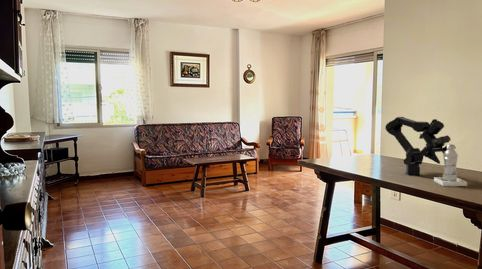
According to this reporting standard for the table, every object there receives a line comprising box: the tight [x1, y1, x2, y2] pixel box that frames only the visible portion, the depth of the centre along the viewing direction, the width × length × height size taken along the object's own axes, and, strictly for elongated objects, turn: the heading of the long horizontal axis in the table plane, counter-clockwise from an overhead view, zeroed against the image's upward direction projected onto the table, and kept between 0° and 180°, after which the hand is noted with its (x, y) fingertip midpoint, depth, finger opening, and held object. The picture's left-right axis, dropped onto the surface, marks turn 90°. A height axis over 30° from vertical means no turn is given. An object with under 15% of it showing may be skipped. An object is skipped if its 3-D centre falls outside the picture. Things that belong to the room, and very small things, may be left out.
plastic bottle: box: [442, 144, 459, 182], centre depth 182 cm, size 6×7×20 cm
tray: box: [433, 176, 468, 188], centre depth 183 cm, size 12×11×2 cm
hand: (446, 162), depth 184 cm, fingers open, 9 cm apart
